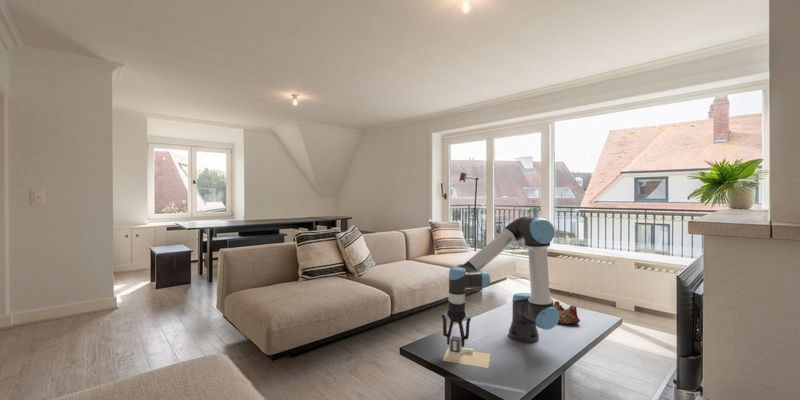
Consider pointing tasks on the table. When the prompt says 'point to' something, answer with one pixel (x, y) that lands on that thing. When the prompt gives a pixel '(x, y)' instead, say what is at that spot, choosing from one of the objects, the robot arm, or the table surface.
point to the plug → (455, 344)
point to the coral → (567, 314)
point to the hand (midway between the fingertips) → (455, 352)
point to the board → (468, 357)
